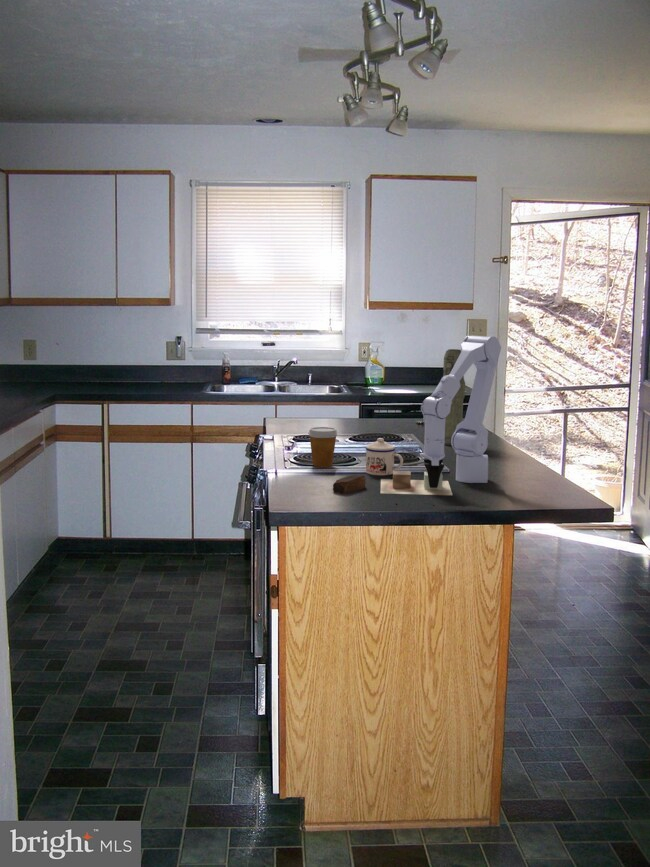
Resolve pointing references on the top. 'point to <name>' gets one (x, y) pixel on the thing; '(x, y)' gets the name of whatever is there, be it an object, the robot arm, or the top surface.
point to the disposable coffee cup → (322, 445)
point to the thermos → (457, 401)
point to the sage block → (426, 482)
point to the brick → (349, 484)
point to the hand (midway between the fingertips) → (432, 485)
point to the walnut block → (401, 479)
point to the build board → (414, 488)
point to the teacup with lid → (381, 458)
